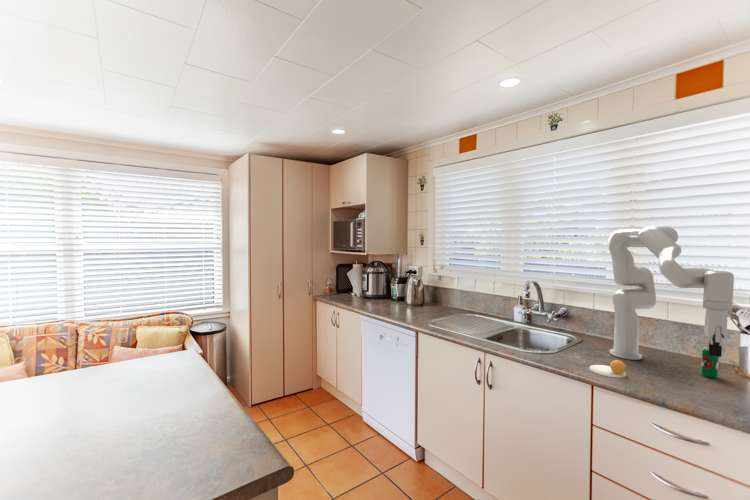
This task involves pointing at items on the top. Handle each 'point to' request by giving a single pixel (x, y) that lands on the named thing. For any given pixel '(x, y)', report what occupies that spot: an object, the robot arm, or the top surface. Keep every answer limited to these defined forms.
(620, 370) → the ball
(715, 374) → the soda can
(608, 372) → the disc
